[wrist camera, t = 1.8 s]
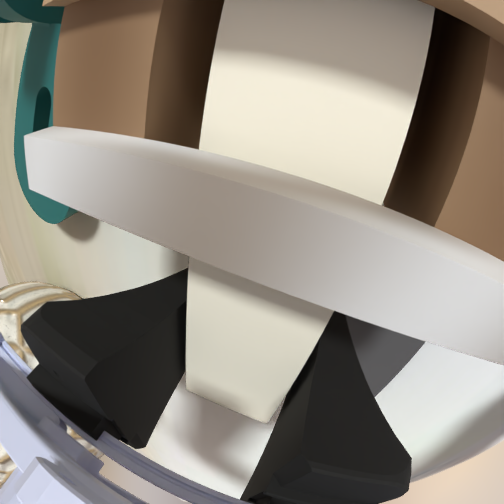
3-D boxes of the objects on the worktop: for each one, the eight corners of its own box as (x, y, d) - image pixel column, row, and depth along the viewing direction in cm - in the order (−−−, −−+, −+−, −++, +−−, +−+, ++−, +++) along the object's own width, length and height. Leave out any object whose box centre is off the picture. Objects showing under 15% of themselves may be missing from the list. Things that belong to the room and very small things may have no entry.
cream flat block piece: (398, 37, 6) (439, -31, 2) (304, 319, 13) (267, 424, 8) (305, 13, 7) (240, -66, 2) (243, 296, 13) (185, 389, 9)
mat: (434, 320, 10) (435, 328, 10) (373, 391, 14) (373, 398, 13) (333, 284, 11) (331, 292, 11) (293, 366, 15) (290, 373, 14)
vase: (126, 394, 28) (40, 511, 12) (33, 295, 26) (-69, 398, 10) (191, 373, 19) (53, 579, 3) (44, 213, 17) (-135, 373, 1)
